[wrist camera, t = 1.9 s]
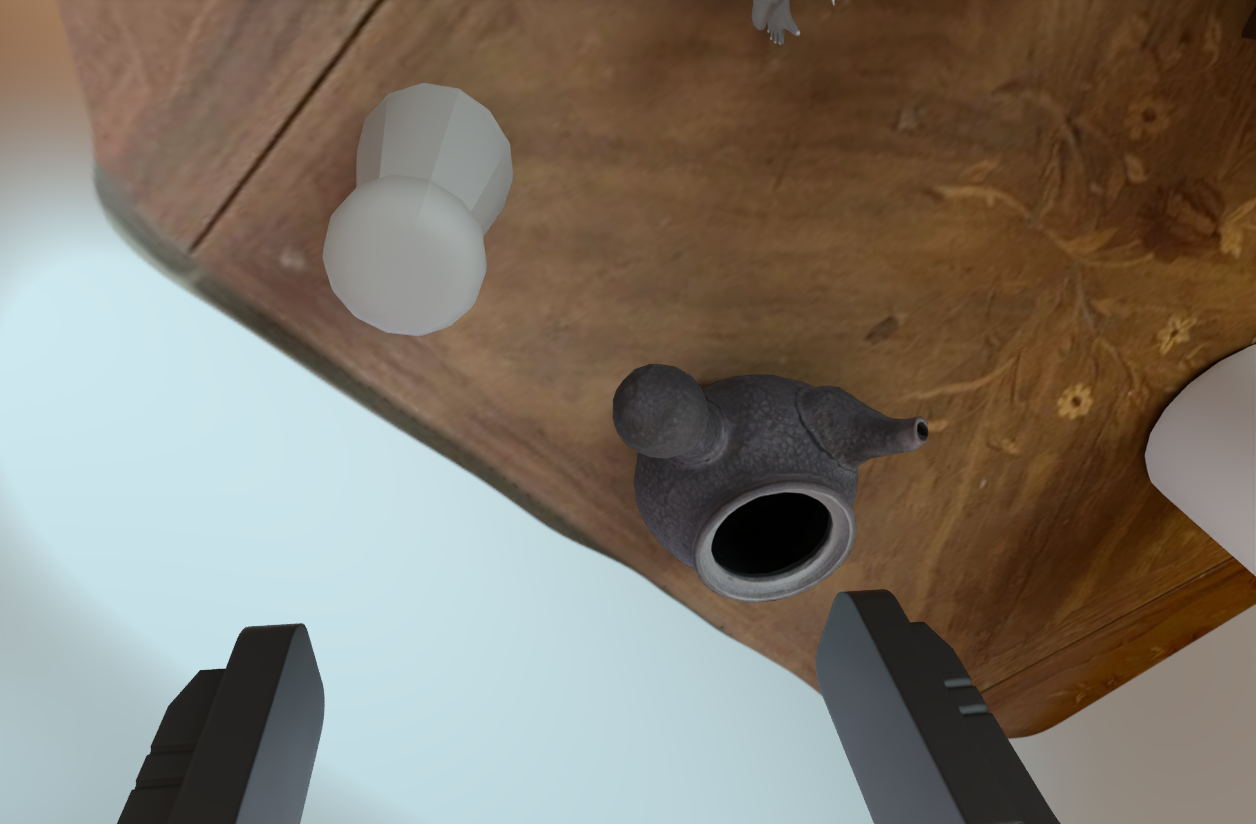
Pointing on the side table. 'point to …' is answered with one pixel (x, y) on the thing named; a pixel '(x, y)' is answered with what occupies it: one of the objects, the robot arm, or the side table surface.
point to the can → (1212, 454)
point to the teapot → (752, 474)
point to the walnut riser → (1250, 28)
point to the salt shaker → (419, 210)
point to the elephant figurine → (774, 18)
